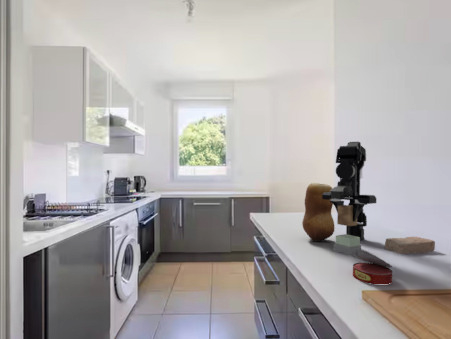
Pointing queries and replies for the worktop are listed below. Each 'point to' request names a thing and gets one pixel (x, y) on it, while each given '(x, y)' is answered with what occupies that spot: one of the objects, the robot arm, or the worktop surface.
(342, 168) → the robot arm
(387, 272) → the canned food
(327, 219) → the butternut squash
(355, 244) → the top block
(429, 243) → the brick
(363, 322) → the worktop surface
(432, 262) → the worktop surface
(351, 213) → the tan rectangular prism
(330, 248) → the worktop surface
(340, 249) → the base block
